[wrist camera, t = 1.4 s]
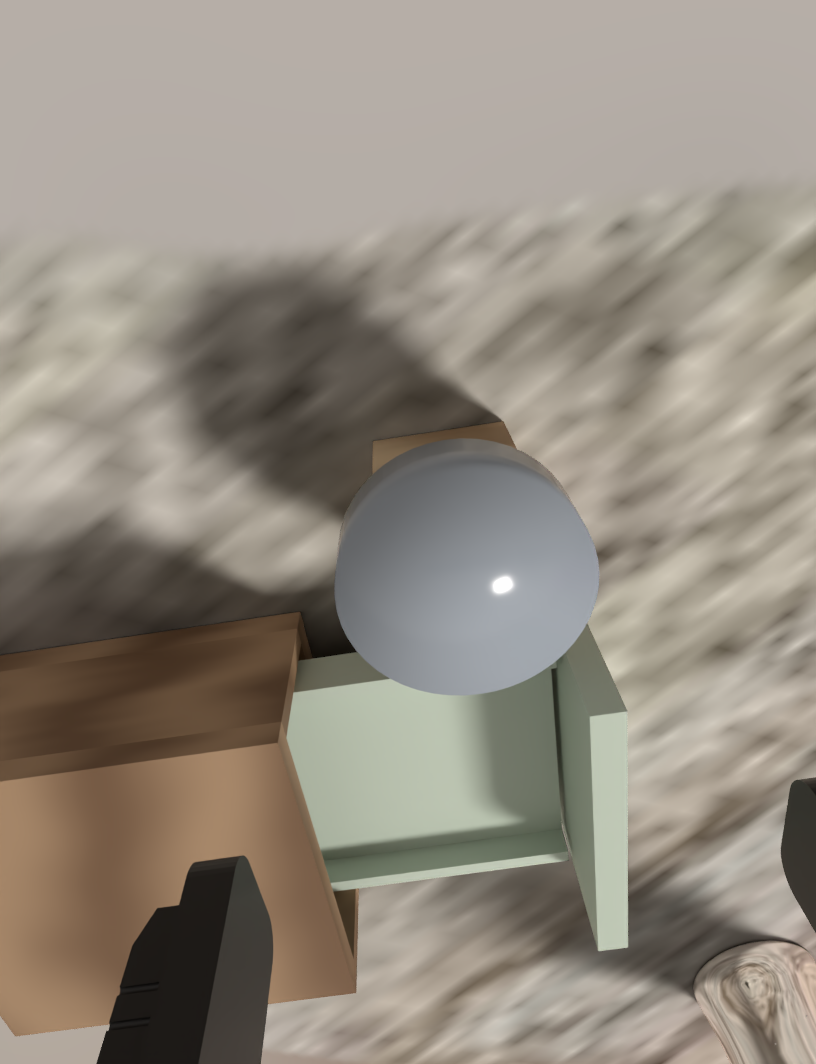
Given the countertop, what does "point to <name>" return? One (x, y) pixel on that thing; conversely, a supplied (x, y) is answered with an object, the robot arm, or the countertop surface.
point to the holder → (153, 811)
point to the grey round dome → (463, 568)
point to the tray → (468, 777)
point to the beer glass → (761, 1002)
